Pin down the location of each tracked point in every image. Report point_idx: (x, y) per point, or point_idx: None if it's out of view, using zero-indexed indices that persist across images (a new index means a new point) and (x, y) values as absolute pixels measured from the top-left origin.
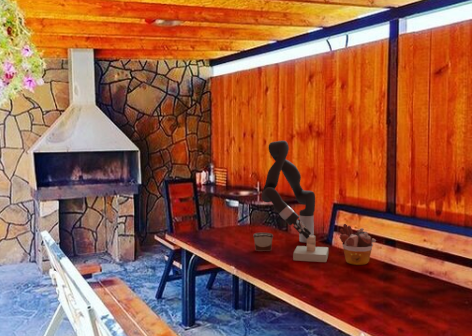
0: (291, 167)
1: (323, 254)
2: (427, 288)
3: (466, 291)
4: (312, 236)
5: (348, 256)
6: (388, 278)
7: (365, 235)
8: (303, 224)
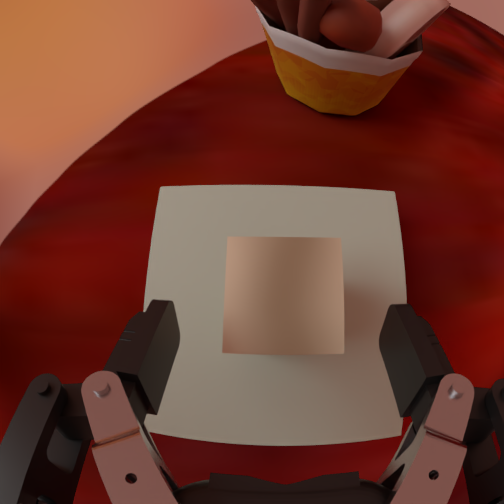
0: None
1: (388, 209)
2: (470, 32)
3: None
4: (292, 273)
5: (387, 88)
6: (460, 59)
7: None
8: (128, 473)
